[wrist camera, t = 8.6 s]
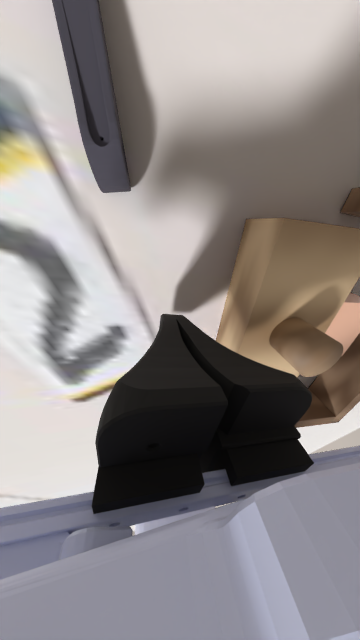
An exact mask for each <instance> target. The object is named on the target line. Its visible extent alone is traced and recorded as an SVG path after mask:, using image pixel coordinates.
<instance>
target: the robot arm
mask: <svg viewBox="0 0 360 640" xmlns="http://www.w3.org/2000/svg"><path fill="white" fill-rule="evenodd" d="M311 402H312V393H311V392H310V391H309V390H308V389H307V388H306V387H305V386H304V384H303V383H302V382H301V381H300V380H299V379H298V378H297V377H296V376H295V375H293V374H290V373H287V372H284V371H281V370H278V369H275V368H272V367H269V366H266V365H264V364H261V363H258V362H256V361H253V360H251V359H249V358H246V357H244V356H242V355H240V354H238V353H236V352H234V351H232V350H230V349H228V348H227V347H225V346H223V345H221V344H220V343H218V342H217V341H215V340H214V339H212V338H211V337H209V336H208V335H206V334H205V333H204V332H202V331H201V330H200V329H199V328H197V327H196V326H195V325H194V324H193V323H191V322H190V321H189V320H188V319H187V318H186V317H184V316H183V315H171V314H162V315H161V319H160V327H159V331H158V334H157V336H156V338H155V340H154V342H153V343H152V345H151V346H150V348H149V349H148V351H147V352H146V353H145V355H144V356H143V357H142V358H141V359H140V360H139V361H138V363H137V364H136V365H135V366H134V367H133V368H132V369H131V370H130V371H128V372H127V373H126V374H125V375H124V376H123V377H121V378H120V379H119V380H118V381H117V382H116V384H115V386H114V388H113V390H112V391H111V393H110V395H109V398H108V400H107V402H106V404H105V406H104V409H103V412H102V415H101V418H100V421H99V426H98V431H97V436H96V450H97V457H98V464H99V468H98V473H97V479H96V484H95V489H94V492H90V493H84V494H78V495H73V496H67V497H61V498H55V499H50V500H44V501H38V502H32V503H27V504H21V505H15V506H9V507H4V508H0V640H360V446H355V447H349V448H343V449H338V450H332V451H326V452H320V453H315V454H309V455H308V454H307V452H306V451H305V449H304V448H303V446H302V445H301V444H300V442H299V441H298V439H299V438H300V437H301V435H300V433H299V432H298V430H297V429H296V428H295V425H296V423H297V422H298V421H299V420H300V419H301V417H302V416H303V415H304V414H305V413H306V411H307V410H308V408H309V407H310V405H311ZM232 502H234V503H232ZM228 503H231V504H228ZM224 504H228V505H225V506H221V507H218V508H215V506H219V505H224ZM132 525H135V535H134V536H132V529H131V527H130V526H132Z"/></svg>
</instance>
